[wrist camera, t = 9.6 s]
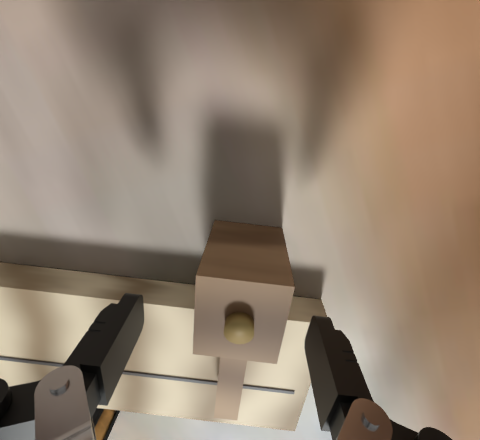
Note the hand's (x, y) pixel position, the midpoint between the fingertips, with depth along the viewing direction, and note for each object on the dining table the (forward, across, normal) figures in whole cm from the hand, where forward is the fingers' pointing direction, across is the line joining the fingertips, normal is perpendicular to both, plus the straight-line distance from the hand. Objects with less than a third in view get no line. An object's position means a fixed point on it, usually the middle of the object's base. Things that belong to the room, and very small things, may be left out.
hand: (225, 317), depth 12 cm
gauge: (+6, -1, +4) cm, 7 cm away
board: (+6, +7, +9) cm, 13 cm away
